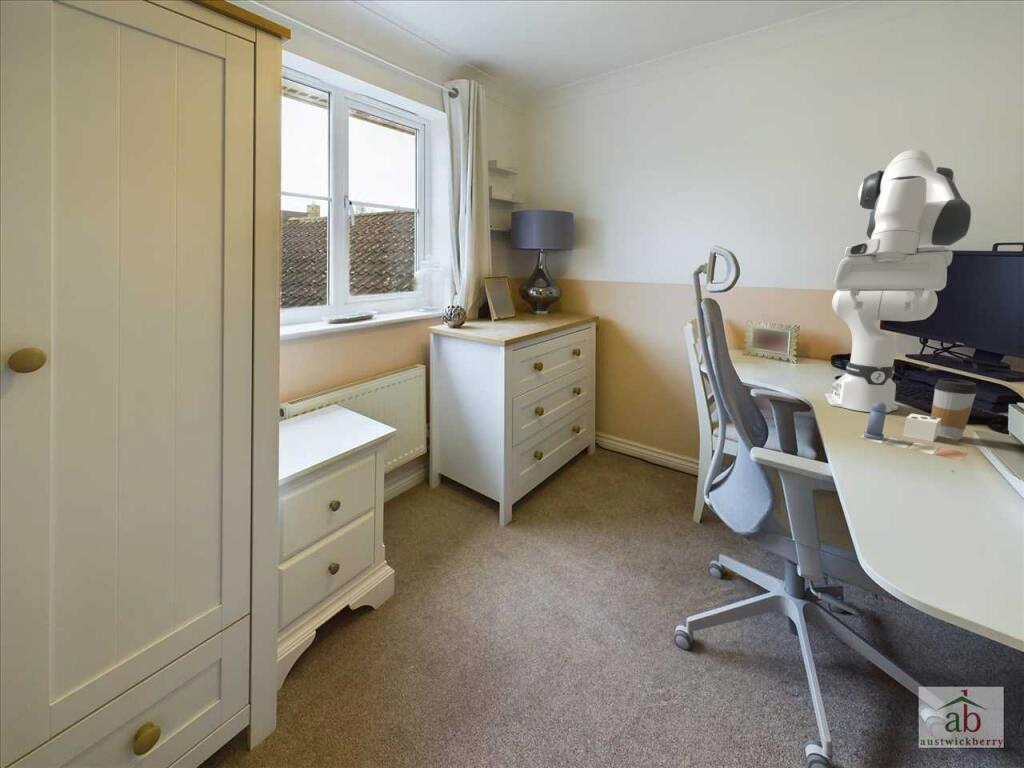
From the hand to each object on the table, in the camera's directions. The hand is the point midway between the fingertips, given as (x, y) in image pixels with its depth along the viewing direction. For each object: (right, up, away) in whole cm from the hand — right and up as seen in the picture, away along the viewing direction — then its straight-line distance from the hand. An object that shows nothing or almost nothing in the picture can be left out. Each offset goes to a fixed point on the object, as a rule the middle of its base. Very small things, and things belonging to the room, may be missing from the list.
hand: (882, 310), depth 111 cm
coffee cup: (+30, -31, +18) cm, 47 cm away
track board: (+13, -33, +8) cm, 36 cm away
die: (+21, -31, +15) cm, 40 cm away
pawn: (+8, -30, +13) cm, 34 cm away
